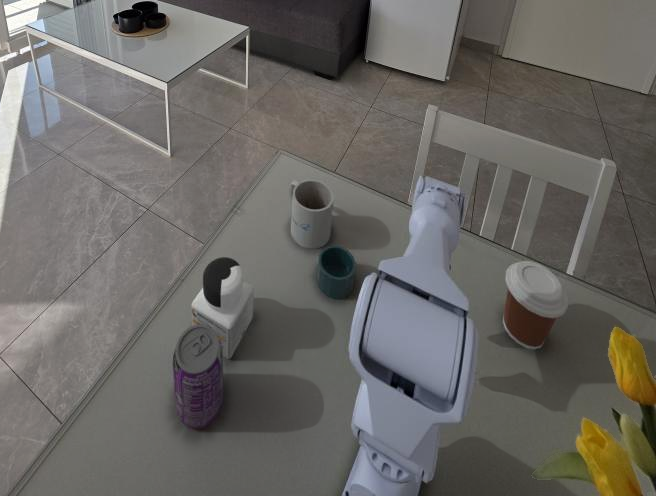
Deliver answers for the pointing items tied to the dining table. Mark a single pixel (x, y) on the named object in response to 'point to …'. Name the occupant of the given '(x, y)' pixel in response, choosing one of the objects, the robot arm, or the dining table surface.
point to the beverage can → (198, 376)
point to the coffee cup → (532, 303)
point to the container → (224, 303)
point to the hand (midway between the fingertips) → (416, 316)
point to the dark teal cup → (336, 272)
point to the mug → (311, 213)
